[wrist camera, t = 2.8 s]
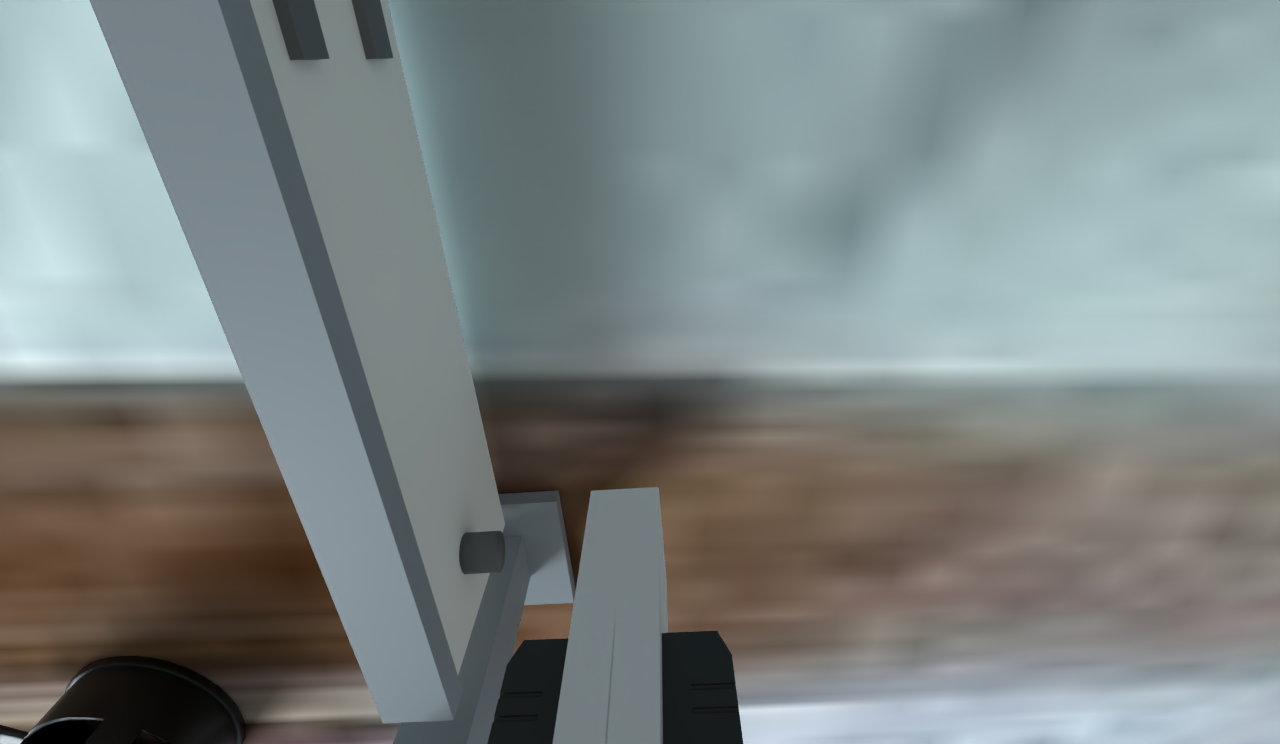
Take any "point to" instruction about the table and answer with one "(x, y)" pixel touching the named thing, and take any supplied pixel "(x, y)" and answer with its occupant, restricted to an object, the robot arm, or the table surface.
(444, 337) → the grey long flat block
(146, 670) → the french press
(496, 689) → the posts
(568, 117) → the table surface
